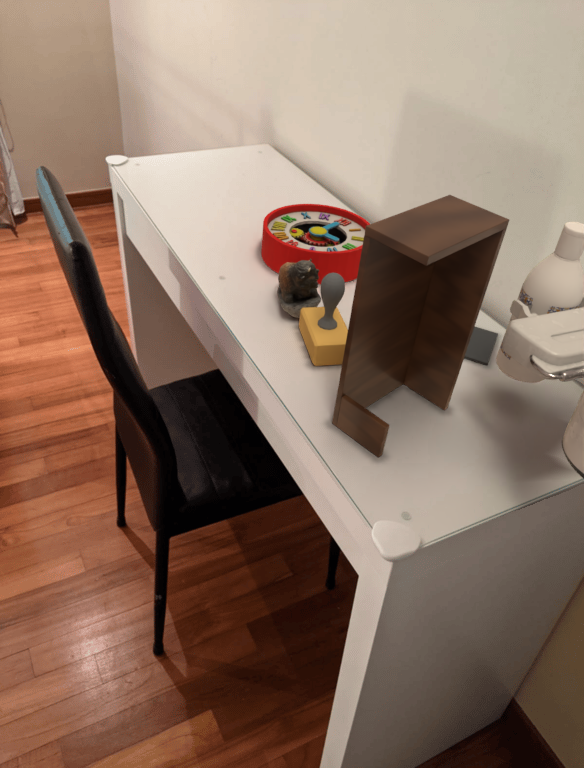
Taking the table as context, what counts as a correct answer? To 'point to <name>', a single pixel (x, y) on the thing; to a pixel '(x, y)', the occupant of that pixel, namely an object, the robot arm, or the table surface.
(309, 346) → the rubber stamp
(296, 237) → the toy clock
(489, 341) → the pad
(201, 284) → the table surface
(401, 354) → the cabinet
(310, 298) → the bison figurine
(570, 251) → the bath foam
